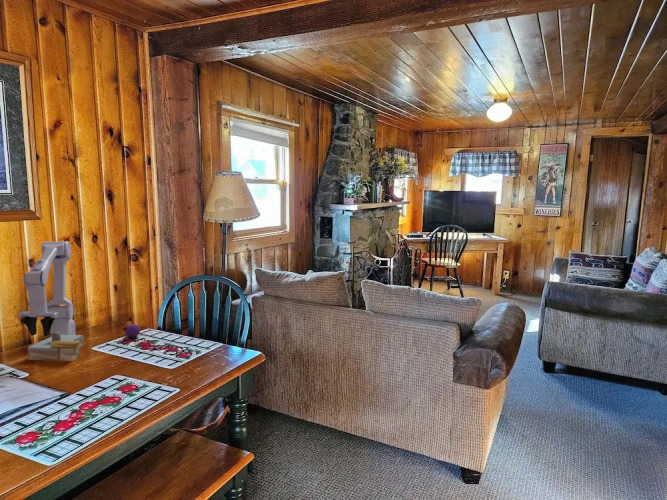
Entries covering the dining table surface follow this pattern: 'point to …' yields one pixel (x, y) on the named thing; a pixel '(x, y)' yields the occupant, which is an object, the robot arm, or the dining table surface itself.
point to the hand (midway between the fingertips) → (40, 335)
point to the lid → (55, 337)
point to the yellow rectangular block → (65, 344)
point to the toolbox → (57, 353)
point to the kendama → (132, 329)
